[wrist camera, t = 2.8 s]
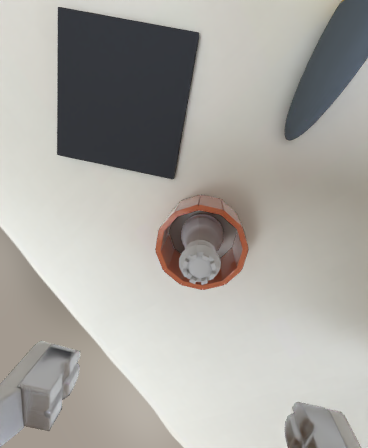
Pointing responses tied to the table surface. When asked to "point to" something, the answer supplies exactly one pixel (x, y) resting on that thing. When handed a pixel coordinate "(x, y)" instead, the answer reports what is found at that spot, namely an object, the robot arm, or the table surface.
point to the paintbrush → (330, 66)
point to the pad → (122, 91)
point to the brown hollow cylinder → (229, 262)
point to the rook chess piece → (201, 248)
